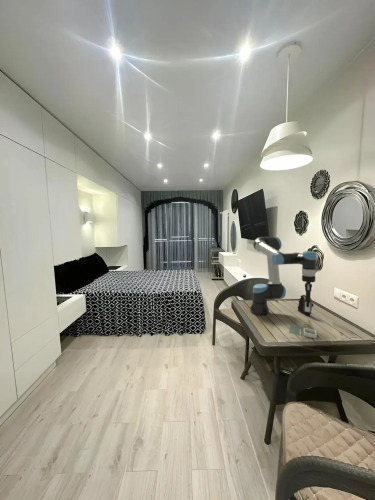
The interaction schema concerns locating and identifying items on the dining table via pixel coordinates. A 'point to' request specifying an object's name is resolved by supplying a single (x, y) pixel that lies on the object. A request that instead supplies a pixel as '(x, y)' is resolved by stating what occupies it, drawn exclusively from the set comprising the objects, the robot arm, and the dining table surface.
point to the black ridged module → (301, 306)
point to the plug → (310, 304)
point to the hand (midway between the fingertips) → (307, 310)
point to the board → (303, 331)
